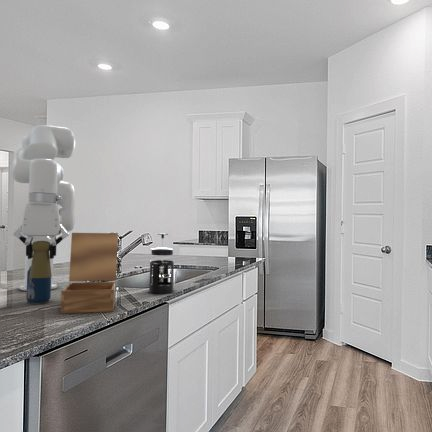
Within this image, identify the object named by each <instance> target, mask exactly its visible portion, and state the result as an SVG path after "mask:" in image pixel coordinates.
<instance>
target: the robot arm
mask: <svg viewBox="0 0 432 432" xmlns="http://www.w3.org/2000/svg"><path fill="white" fill-rule="evenodd" d="M75 147H76V136H75V133H74V132H73V130H72V129H71V128H68V127H64V126H55V125H46V124H39V125H36V126H34V127H33V128H31V130H30V133H27V134H24V136H23V137H22V138H21V148H19V149H17V150H16V152H15V153H14V155H13V157H12V163H11V177H12V178H13V180H14V181H15V182H17V183H20V184H28V202H27V203H25V206H24V211H23V217H22V223H21V225H20V226H19V227H18V228H17V229H16V230H15V231H14V232H13V236H15V237H16V238H17V239H19V241H20V242H22V243H23V244H24V246H25V250H24V282H23V284H21V285H20V286H19V290H20V291H24V292H27V272H28V270H29V268H30V266H31V264H32V258H33V253H34V251H33V250H32V244H33V242H36V241H48V242H50V244H51V246H50V251H49V257H50V266H51V274H52V277H51V290H56V289H57V288H58V284H57V283H53V282H54V281H53V280H54V279H53V278H54V259H55V257H56V256H57V245H58V244H60V243H61V242H63V240H65V239H66V238H67V237H69V235H70V233H69V232H72V231H73V230H74V228H75V222H76V221H75V220H76V209H75V208H76V193H75V188H74V185H73V184H72V183H71V182H68V181H63V180H64V168H63V167H62V166H61V164H60V163H58V162H57V161H56V160H55V159H56V158H57V159H58V158H59V159H70V158H71V157H72V156H73V155H74V150H75ZM57 236H59V237H57Z"/></svg>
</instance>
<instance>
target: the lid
mask: <svg viewBox="0 0 432 432" xmlns="http://www.w3.org/2000/svg"><path fill="white" fill-rule="evenodd" d="M118 243H119V233H116V232H115V233H114V232H113V233H112V232H71V242H70V258H69V259H70V261H69V276H68V277H69V278H68V282H117V272H118V271H117V269H118V245H119V244H118Z"/></svg>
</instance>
